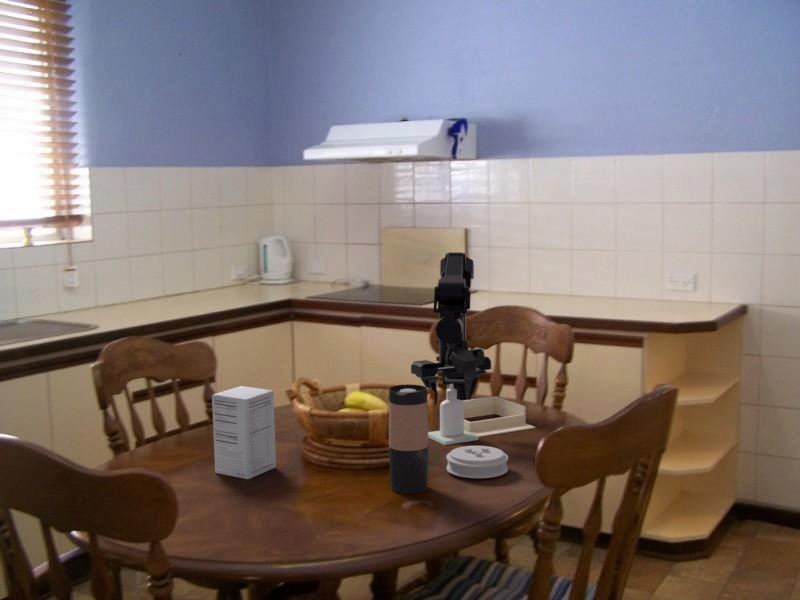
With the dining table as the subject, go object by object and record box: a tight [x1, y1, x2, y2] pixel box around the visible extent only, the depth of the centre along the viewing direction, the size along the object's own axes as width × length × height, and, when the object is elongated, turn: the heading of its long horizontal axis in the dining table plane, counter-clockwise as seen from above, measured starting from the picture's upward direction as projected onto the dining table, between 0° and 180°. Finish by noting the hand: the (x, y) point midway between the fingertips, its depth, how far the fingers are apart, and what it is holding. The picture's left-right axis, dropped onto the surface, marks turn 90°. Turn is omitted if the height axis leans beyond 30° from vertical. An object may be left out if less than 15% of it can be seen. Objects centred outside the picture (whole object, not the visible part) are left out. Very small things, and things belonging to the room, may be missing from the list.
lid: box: [446, 445, 509, 479], centre depth 196 cm, size 13×13×5 cm
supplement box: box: [211, 385, 277, 480], centre depth 198 cm, size 10×9×17 cm
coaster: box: [428, 430, 479, 446], centre depth 223 cm, size 9×9×1 cm
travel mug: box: [388, 384, 429, 495], centre depth 185 cm, size 8×8×20 cm
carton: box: [462, 395, 536, 438], centre depth 234 cm, size 17×16×4 cm
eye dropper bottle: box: [439, 384, 465, 437], centre depth 222 cm, size 4×6×12 cm
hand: (451, 401), depth 222 cm, fingers open, 9 cm apart
